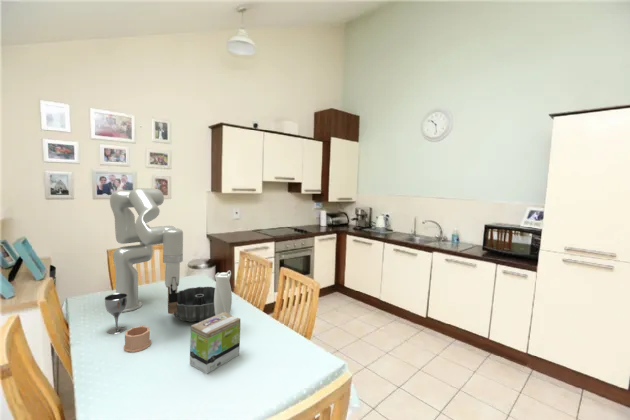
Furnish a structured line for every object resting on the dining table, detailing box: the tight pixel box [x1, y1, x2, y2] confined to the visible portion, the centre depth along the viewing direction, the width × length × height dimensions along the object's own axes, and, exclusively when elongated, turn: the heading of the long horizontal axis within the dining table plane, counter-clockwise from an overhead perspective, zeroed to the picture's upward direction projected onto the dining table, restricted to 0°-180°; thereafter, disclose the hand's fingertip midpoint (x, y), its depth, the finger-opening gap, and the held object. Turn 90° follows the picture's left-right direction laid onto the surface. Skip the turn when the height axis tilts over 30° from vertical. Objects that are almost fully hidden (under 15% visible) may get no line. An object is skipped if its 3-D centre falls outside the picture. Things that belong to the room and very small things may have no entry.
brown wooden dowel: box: [167, 285, 177, 315], centre depth 124 cm, size 4×4×14 cm
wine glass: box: [104, 293, 127, 335], centre depth 126 cm, size 8×8×15 cm
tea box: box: [189, 312, 241, 375], centre depth 108 cm, size 15×10×15 cm, turn 148°
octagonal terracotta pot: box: [123, 325, 152, 353], centre depth 115 cm, size 9×9×6 cm
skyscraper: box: [214, 270, 233, 315], centre depth 127 cm, size 8×8×28 cm
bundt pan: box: [173, 286, 215, 323], centre depth 144 cm, size 26×26×10 cm
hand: (172, 299), depth 124 cm, fingers closed on brown wooden dowel, 3 cm apart
